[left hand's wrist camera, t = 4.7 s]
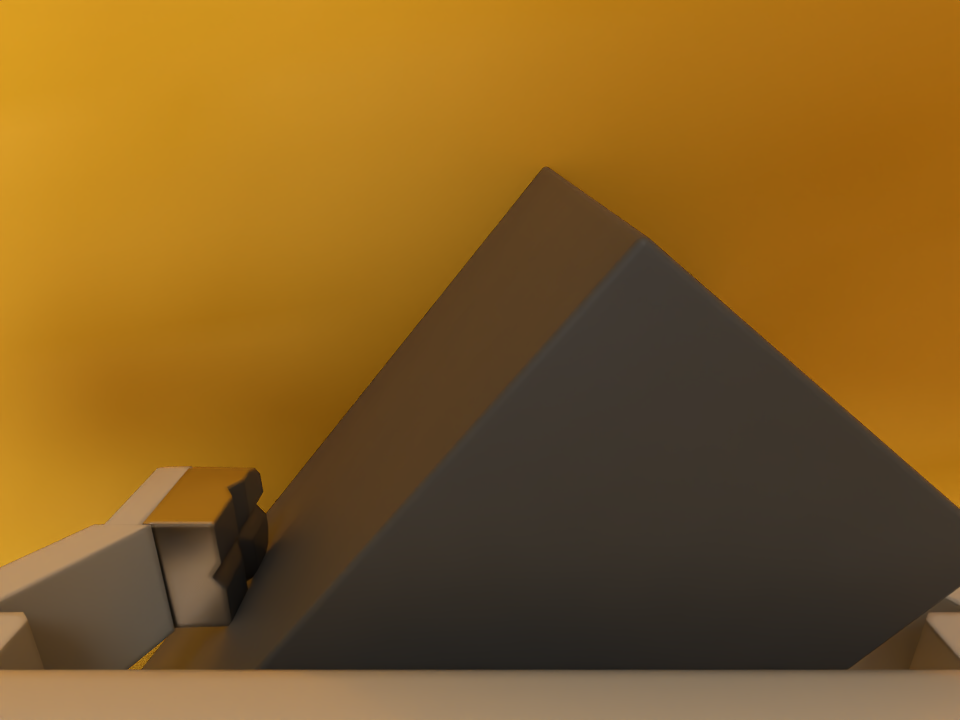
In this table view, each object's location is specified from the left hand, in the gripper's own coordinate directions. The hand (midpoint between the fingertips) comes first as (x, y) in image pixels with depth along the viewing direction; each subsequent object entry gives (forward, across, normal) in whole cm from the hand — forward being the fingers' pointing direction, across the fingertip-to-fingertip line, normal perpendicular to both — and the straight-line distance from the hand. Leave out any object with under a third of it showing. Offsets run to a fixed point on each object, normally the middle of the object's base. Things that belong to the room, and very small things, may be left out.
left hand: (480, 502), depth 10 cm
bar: (+3, -14, -18) cm, 23 cm away
